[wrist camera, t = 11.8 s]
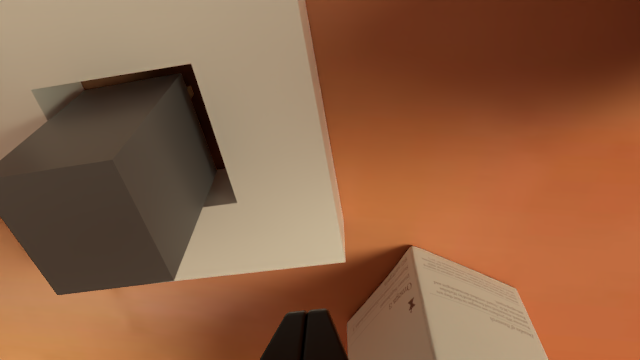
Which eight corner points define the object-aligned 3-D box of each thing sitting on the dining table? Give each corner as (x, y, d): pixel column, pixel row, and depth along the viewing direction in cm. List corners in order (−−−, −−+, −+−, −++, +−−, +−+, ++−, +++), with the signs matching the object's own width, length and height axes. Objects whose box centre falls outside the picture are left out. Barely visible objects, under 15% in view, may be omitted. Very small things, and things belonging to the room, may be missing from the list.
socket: (288, -97, 15) (277, -93, 12) (343, 221, 23) (346, 274, 20) (-78, -25, 17) (-174, -4, 13) (88, 251, 24) (52, 306, 21)
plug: (191, 60, 18) (112, 159, 12) (223, 153, 21) (173, 280, 14) (100, 76, 19) (-26, 181, 12) (143, 166, 21) (57, 295, 14)
